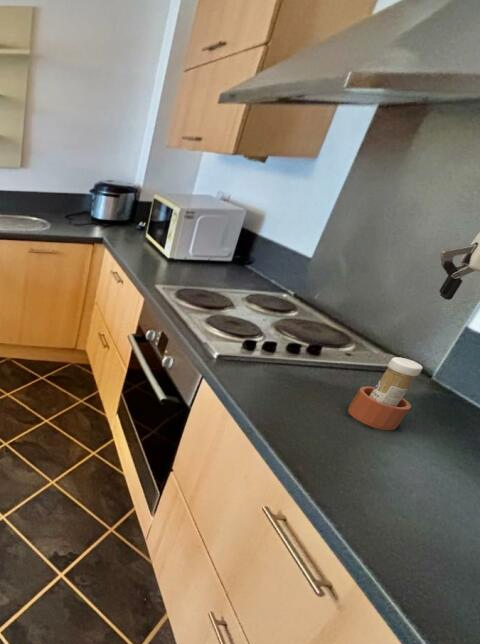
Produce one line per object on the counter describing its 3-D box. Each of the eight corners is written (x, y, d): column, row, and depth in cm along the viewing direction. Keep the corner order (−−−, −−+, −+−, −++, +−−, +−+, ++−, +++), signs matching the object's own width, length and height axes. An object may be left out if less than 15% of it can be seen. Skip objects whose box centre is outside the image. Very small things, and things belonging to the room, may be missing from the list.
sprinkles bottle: (356, 407, 91) (388, 354, 85) (381, 413, 89) (416, 359, 83) (364, 418, 87) (398, 364, 81) (391, 425, 85) (428, 370, 79)
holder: (391, 416, 90) (405, 395, 87) (400, 435, 83) (416, 414, 81) (345, 402, 93) (357, 382, 91) (350, 420, 87) (364, 399, 85)
